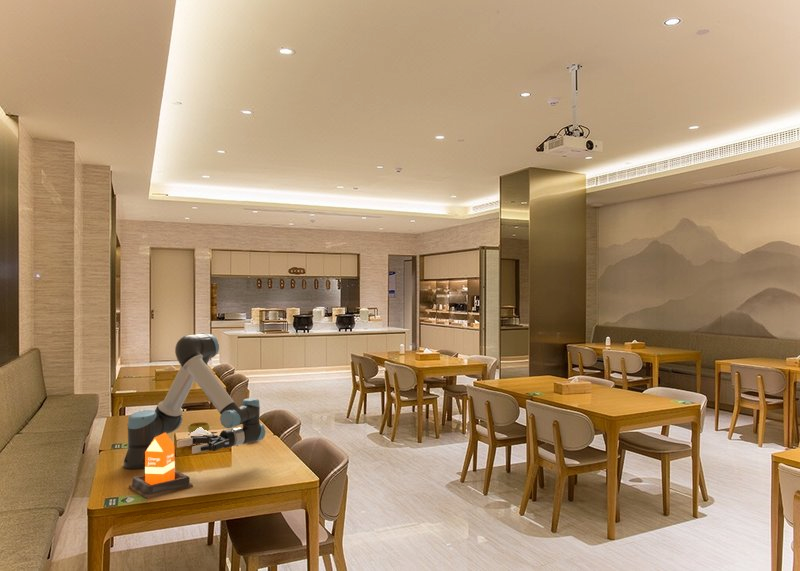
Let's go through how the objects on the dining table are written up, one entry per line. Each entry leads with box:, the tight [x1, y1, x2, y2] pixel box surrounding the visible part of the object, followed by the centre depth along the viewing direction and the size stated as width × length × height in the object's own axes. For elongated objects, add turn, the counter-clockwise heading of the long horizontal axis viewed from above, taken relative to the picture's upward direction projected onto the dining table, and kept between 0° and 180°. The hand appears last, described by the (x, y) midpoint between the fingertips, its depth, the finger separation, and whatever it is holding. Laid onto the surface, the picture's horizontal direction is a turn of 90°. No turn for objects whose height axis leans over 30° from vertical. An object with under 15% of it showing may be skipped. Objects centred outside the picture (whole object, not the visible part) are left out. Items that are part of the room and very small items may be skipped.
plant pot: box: [187, 421, 210, 434], centre depth 297 cm, size 10×10×10 cm
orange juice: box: [144, 432, 176, 485], centre depth 228 cm, size 8×9×20 cm
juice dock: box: [128, 469, 194, 499], centre depth 228 cm, size 18×18×4 cm
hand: (184, 447), depth 235 cm, fingers open, 13 cm apart
